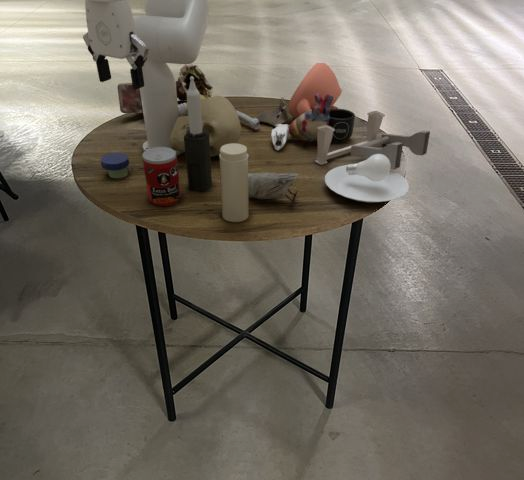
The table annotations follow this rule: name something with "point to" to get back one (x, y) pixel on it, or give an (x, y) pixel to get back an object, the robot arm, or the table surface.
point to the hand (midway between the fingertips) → (122, 84)
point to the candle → (197, 144)
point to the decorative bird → (270, 185)
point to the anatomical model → (312, 119)
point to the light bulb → (185, 107)
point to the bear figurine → (199, 81)
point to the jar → (234, 182)
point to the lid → (115, 161)
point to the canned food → (162, 176)
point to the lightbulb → (371, 167)
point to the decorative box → (129, 99)
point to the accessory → (306, 145)
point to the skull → (211, 125)
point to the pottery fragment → (274, 115)
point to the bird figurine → (279, 135)
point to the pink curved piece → (314, 89)
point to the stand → (118, 173)
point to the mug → (341, 124)
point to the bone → (249, 120)
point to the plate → (366, 186)
